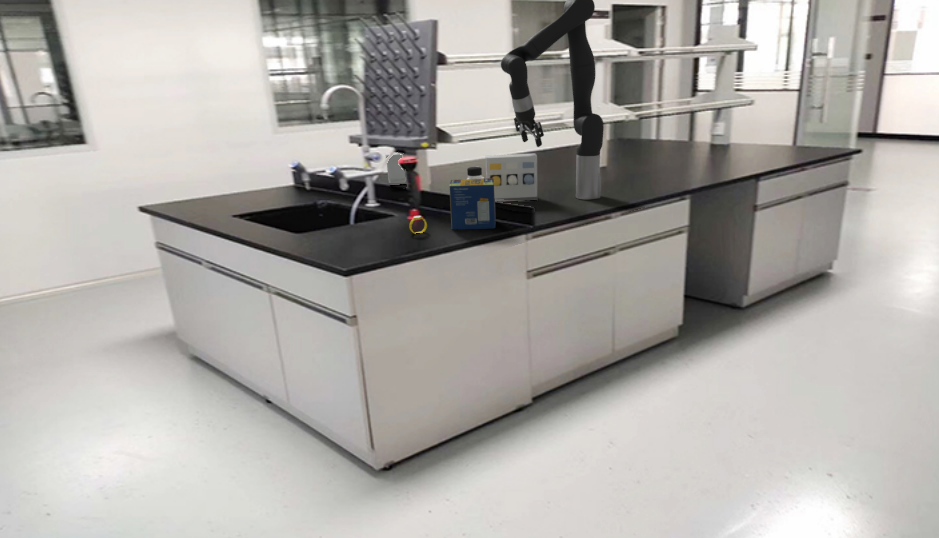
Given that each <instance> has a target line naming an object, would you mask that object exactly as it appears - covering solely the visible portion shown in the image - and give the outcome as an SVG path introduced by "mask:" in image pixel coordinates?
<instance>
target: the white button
mask: <svg viewBox="0 0 939 538" xmlns="http://www.w3.org/2000/svg"><path fill="white" fill-rule="evenodd" d="M507 180H508V183H509V184H510V185H512V186H514V185H516V184H517V178H516V176H515V175H513V174H511V175H509V176H508V178H507Z"/></svg>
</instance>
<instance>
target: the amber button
mask: <svg viewBox="0 0 939 538" xmlns="http://www.w3.org/2000/svg"><path fill="white" fill-rule="evenodd" d="M492 178H493V179H494V186H499V185H500V183H501V180H500V177H499V176H497V175H494V176H492Z"/></svg>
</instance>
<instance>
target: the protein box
mask: <svg viewBox="0 0 939 538" xmlns="http://www.w3.org/2000/svg"><path fill="white" fill-rule="evenodd" d="M449 182H450V183H449V185H448V186H449V188H448V189H449V202H450V204H449V206H450V221H451V230H452V229H458V230H483V229H485V230H486V229H495V228H496V203H495V193H494V179H493V178H488V179H486V178H485V179H467V178H466V179H465V178H464V179H451V180H450V181H449Z"/></svg>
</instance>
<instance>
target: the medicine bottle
mask: <svg viewBox="0 0 939 538" xmlns="http://www.w3.org/2000/svg"><path fill="white" fill-rule="evenodd" d="M482 173H483V172H482V167H480V166H478V165H477V166H476V165H475V166H470V167H468V168H467V178H466V179H486V177H484V176H483V174H482Z"/></svg>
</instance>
